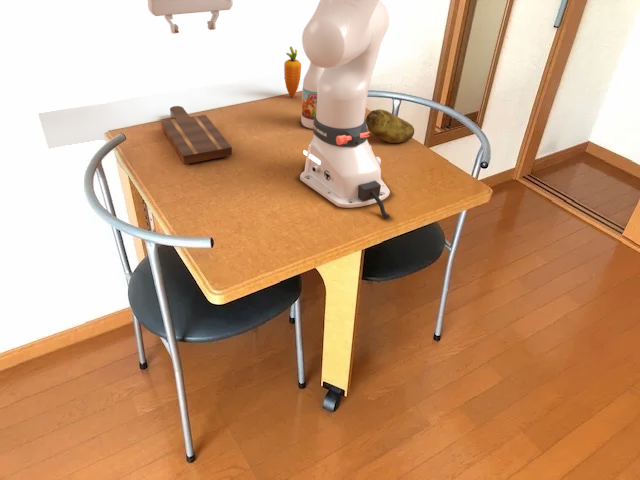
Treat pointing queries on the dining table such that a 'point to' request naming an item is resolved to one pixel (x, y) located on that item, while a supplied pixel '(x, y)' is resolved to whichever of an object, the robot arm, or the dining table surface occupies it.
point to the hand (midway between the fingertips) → (193, 30)
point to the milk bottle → (310, 94)
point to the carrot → (292, 73)
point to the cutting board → (194, 137)
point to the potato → (389, 126)
